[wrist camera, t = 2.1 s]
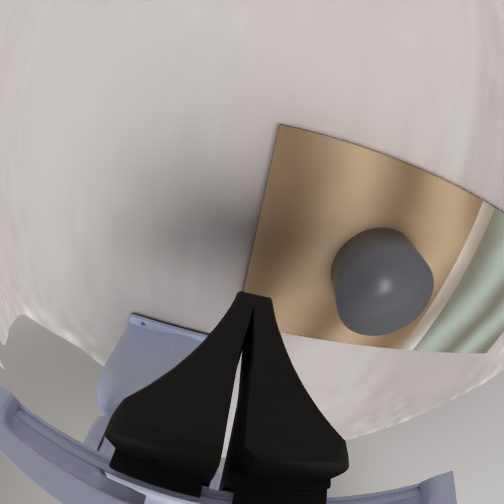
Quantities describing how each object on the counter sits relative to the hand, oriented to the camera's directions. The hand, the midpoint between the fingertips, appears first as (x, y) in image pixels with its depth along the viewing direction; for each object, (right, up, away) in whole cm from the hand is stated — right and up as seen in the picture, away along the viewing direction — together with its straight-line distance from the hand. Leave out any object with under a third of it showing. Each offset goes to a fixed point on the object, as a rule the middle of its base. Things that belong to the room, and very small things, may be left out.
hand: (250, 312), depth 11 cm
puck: (+8, +1, +5) cm, 10 cm away
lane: (+14, 0, +6) cm, 15 cm away
